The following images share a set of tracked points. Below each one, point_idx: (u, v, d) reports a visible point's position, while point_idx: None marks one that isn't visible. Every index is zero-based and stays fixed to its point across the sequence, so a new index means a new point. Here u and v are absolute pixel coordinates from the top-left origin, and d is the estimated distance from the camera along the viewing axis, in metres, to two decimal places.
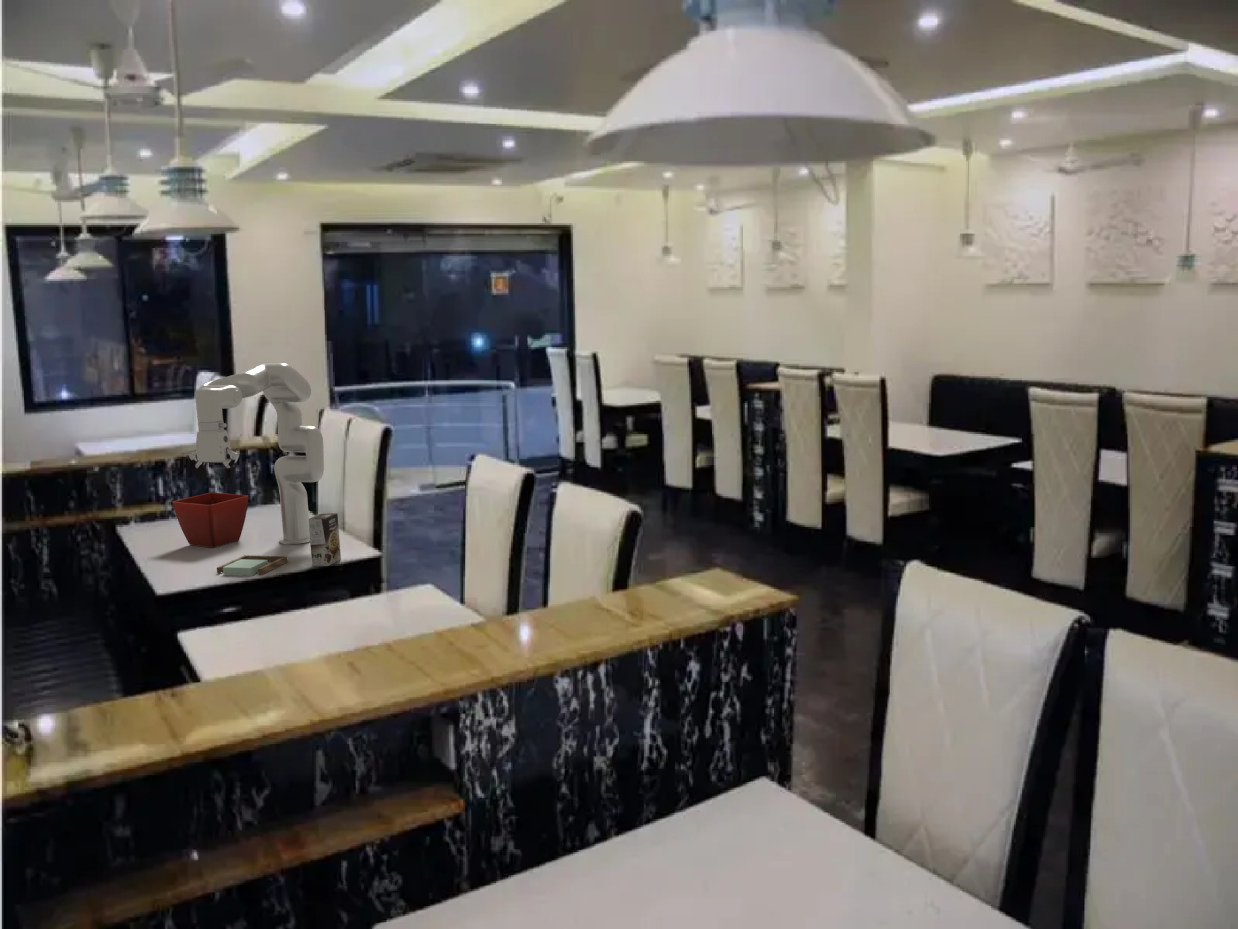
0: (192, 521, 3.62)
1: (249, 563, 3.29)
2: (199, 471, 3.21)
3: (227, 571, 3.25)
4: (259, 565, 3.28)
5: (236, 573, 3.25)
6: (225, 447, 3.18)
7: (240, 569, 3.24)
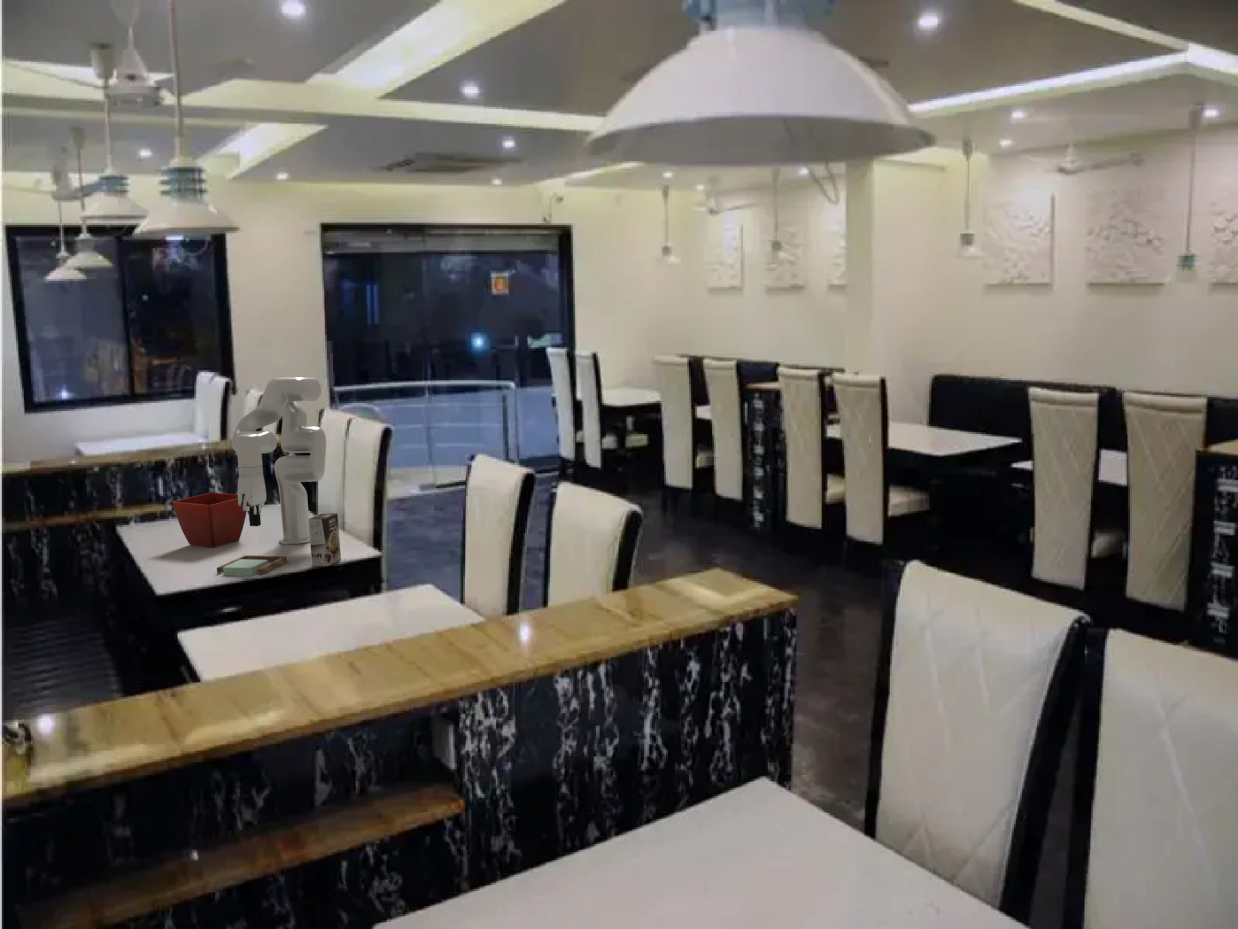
0: (192, 521, 3.62)
1: (249, 563, 3.29)
2: (258, 517, 3.33)
3: (227, 571, 3.25)
4: (259, 565, 3.28)
5: (236, 573, 3.25)
6: None
7: (240, 569, 3.24)
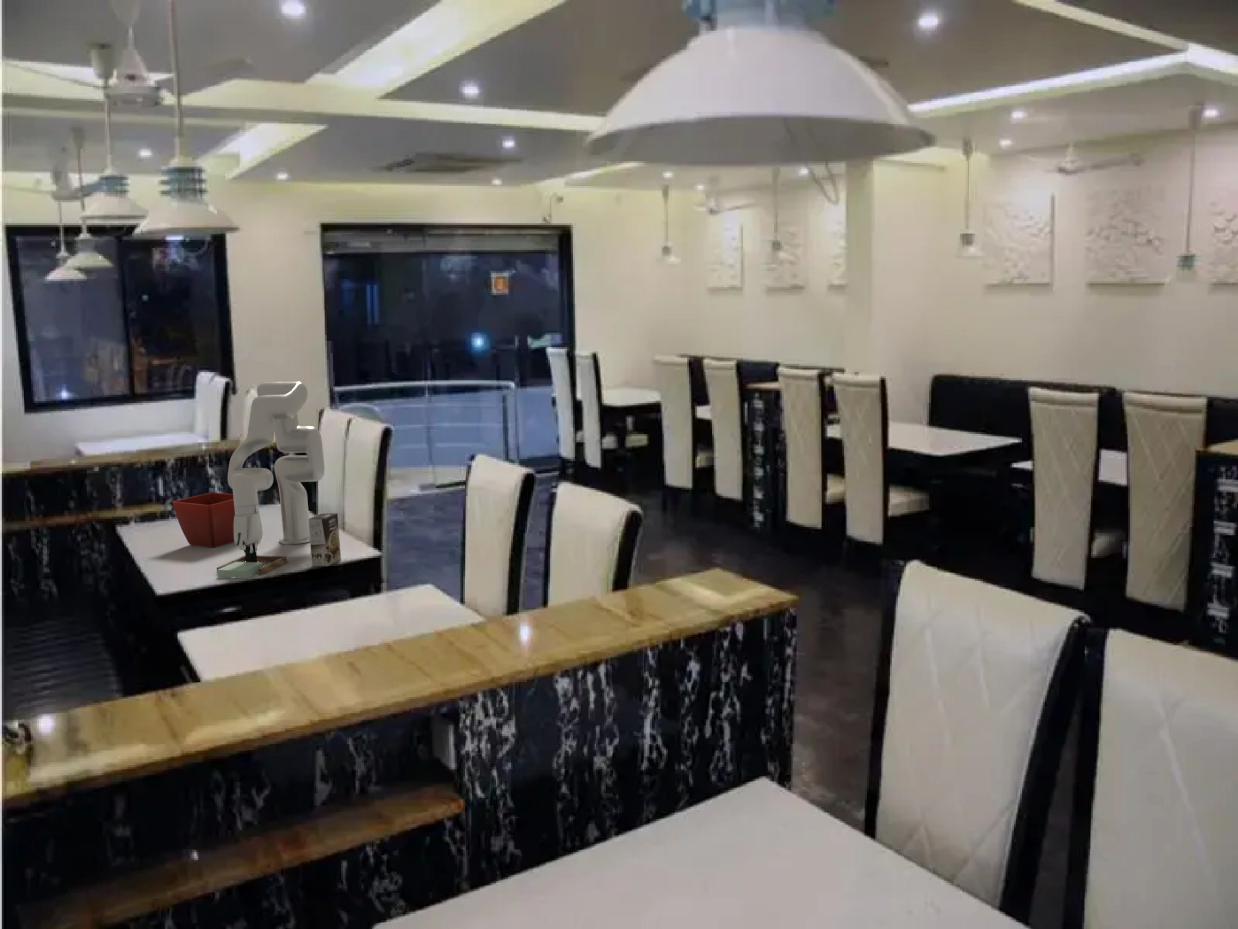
0: (192, 521, 3.62)
1: (244, 566, 3.26)
2: (254, 555, 3.32)
3: (221, 574, 3.22)
4: (254, 568, 3.25)
5: (230, 576, 3.22)
6: None
7: (235, 572, 3.21)
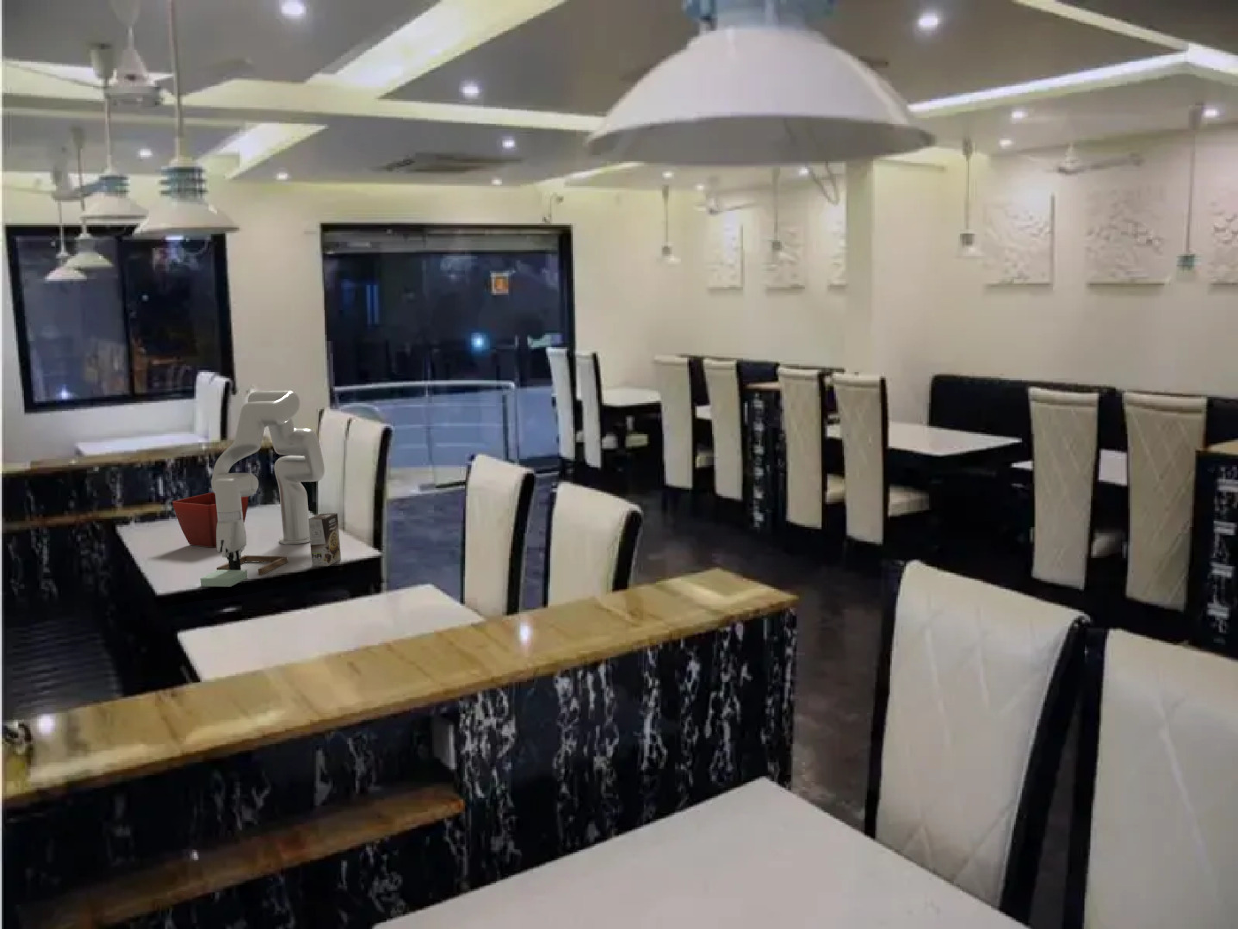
0: (192, 521, 3.62)
1: (228, 573, 3.17)
2: (238, 563, 3.23)
3: (204, 582, 3.13)
4: (238, 575, 3.16)
5: (214, 584, 3.13)
6: None
7: (219, 580, 3.12)
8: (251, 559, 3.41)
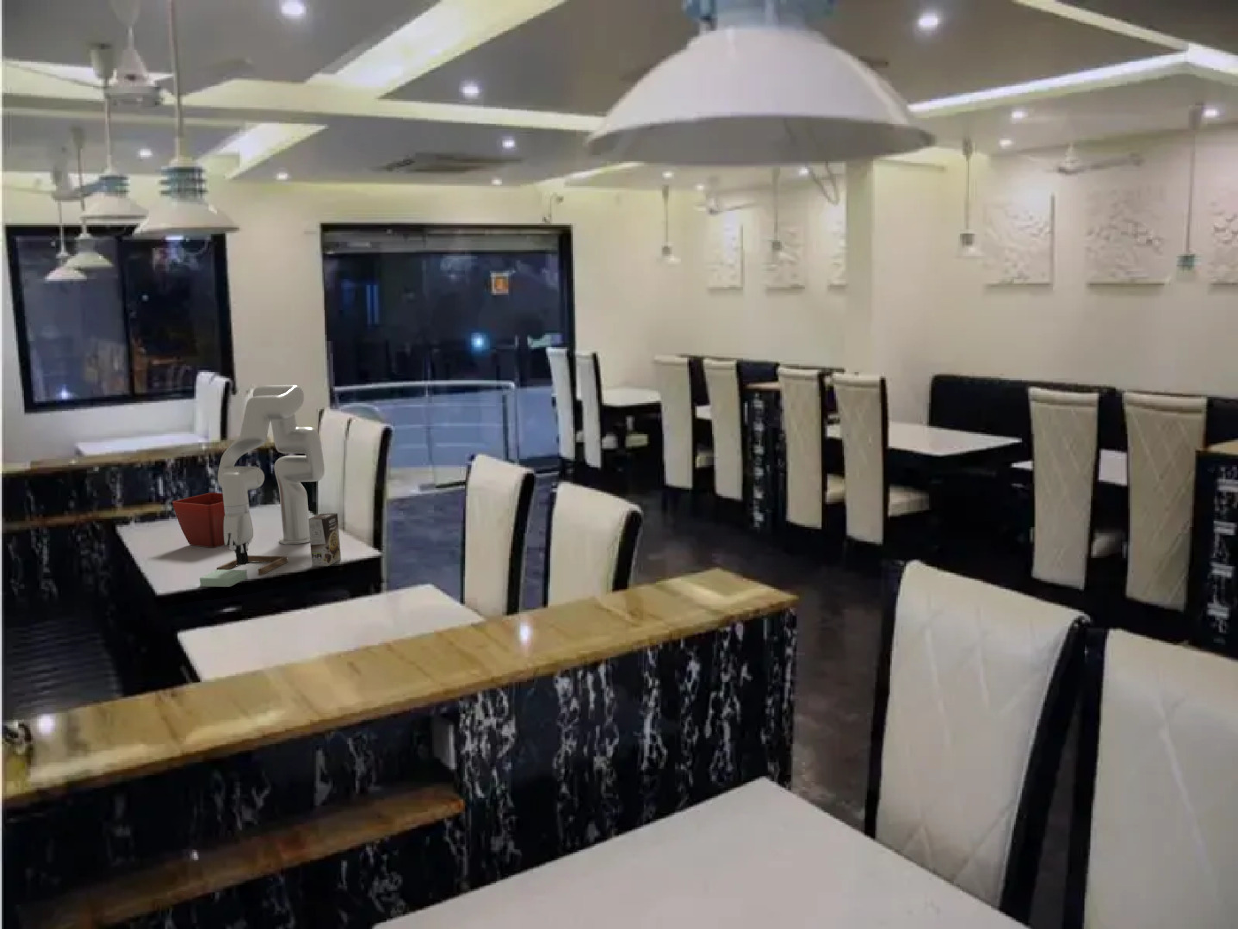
0: (192, 521, 3.62)
1: (227, 573, 3.17)
2: (245, 555, 3.27)
3: (204, 582, 3.13)
4: (238, 575, 3.16)
5: (213, 584, 3.12)
6: None
7: (218, 580, 3.12)
8: (251, 559, 3.41)
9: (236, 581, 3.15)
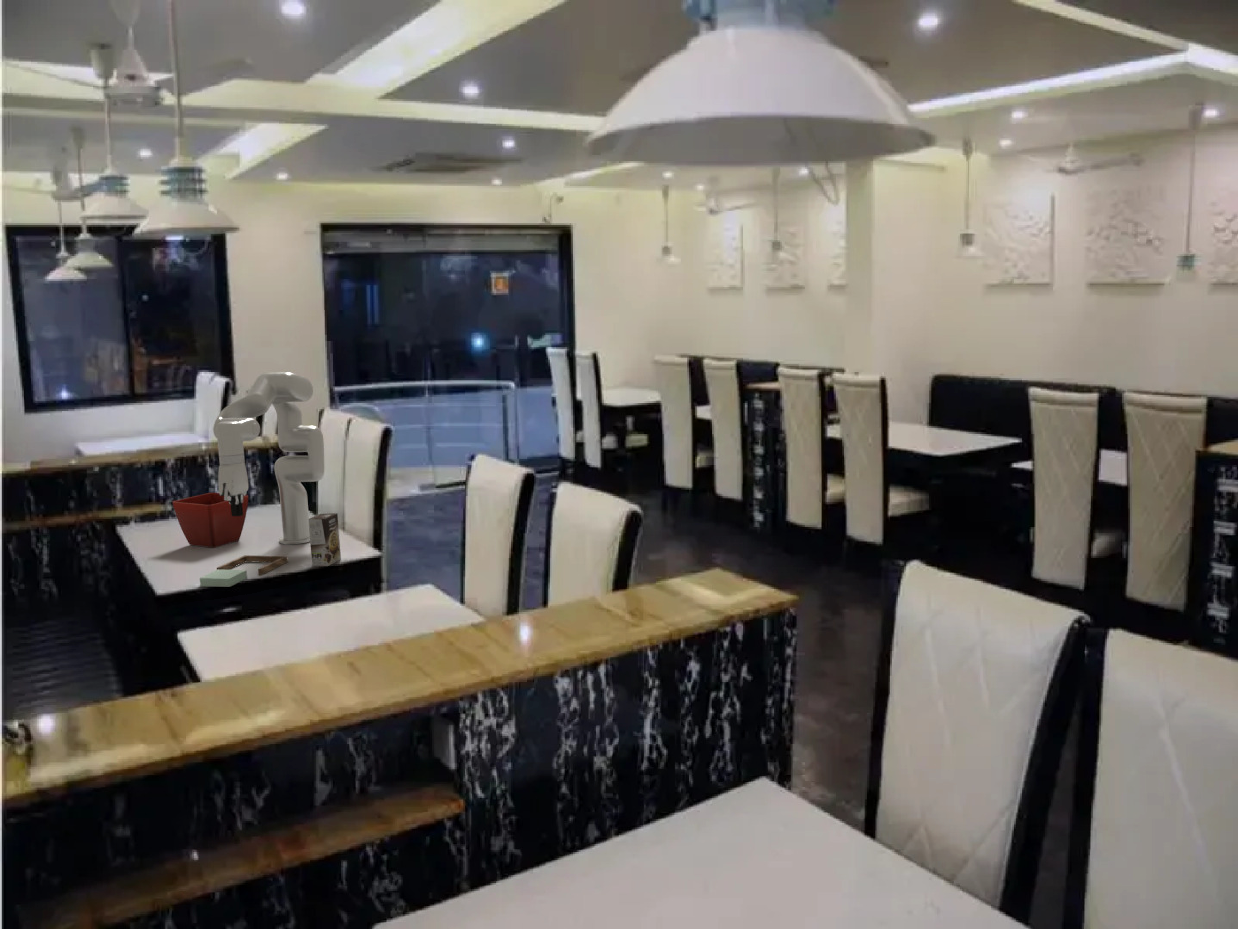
0: (192, 521, 3.62)
1: (227, 573, 3.17)
2: (240, 507, 3.24)
3: (204, 582, 3.13)
4: (238, 576, 3.16)
5: (213, 584, 3.12)
6: None
7: (218, 580, 3.12)
8: (251, 559, 3.41)
9: (236, 581, 3.15)
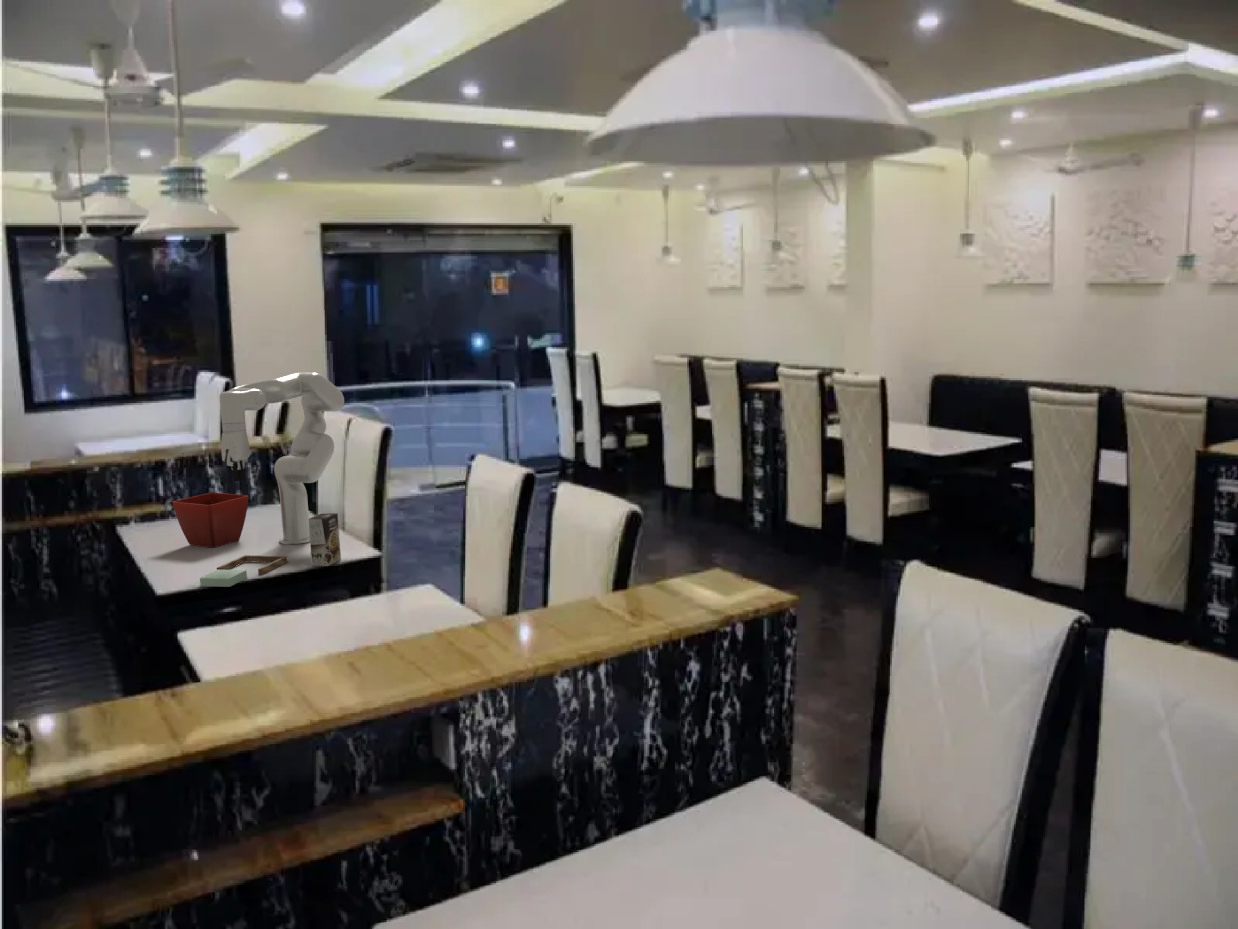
0: (192, 521, 3.62)
1: (227, 573, 3.17)
2: (241, 472, 3.41)
3: (204, 582, 3.13)
4: (238, 575, 3.16)
5: (213, 584, 3.12)
6: None
7: (218, 580, 3.12)
8: (251, 559, 3.41)
9: (236, 581, 3.15)
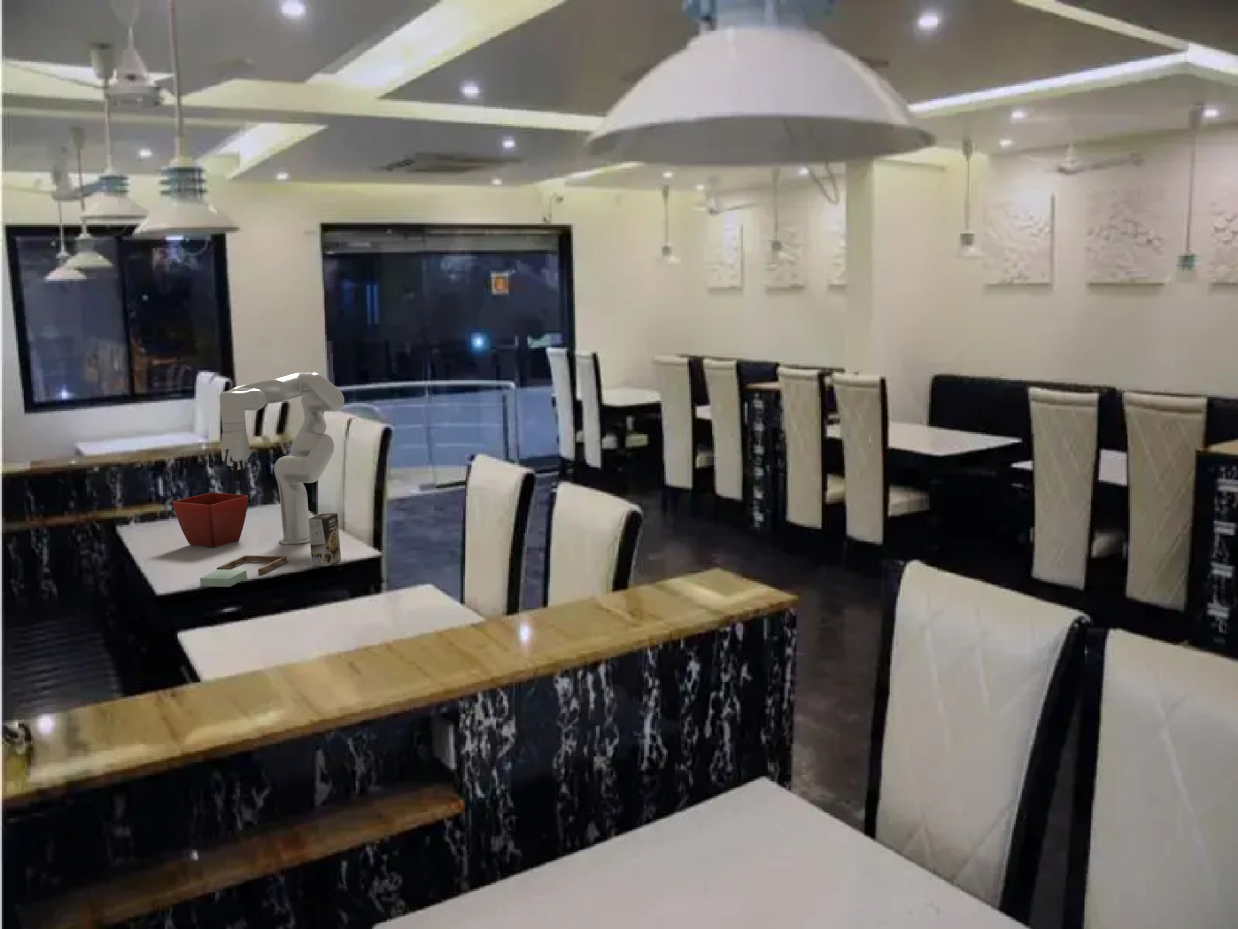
0: (192, 521, 3.62)
1: (227, 573, 3.17)
2: (241, 472, 3.41)
3: (204, 582, 3.13)
4: (238, 575, 3.16)
5: (213, 584, 3.12)
6: None
7: (218, 580, 3.12)
8: (251, 559, 3.41)
9: (236, 581, 3.15)
